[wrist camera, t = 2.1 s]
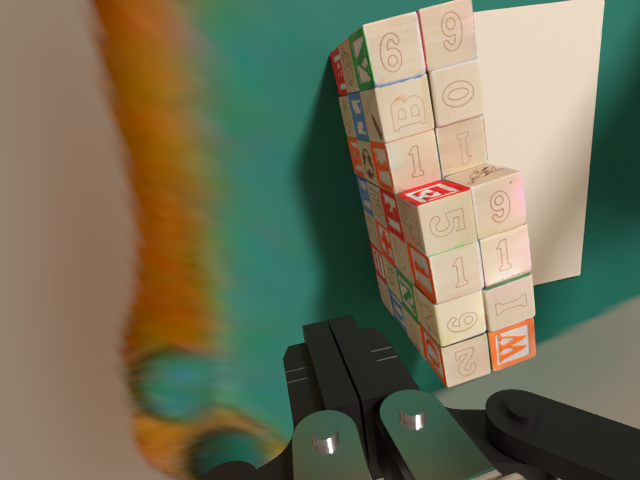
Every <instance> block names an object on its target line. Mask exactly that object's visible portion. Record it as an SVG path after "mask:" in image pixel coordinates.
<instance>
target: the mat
mask: <svg viewBox="0 0 640 480" xmlns="http://www.w3.org/2000/svg"><path fill="white" fill-rule="evenodd" d="M603 11H604V0H572V1H564V2H555V3H547V4H539V5H530V6H522V7H514V8H505V9H497V10H489V11H480V12H473V18H474V28H475V38H476V48H477V58H479V63H480V73H481V83H482V93H483V103H484V114H483V118H484V126H485V136H486V145H487V155H488V164H492V165H496V166H501V167H506V168H510V169H514V170H521V171H522V173H523V184H524V194H525V205H526V216H527V221H526V225H527V226H528V231H529V243H530V254H531V265H532V268H531V270H530V274H531V275H532V280H533V286H534V285H538V284H542V283H547V282H551V281H556V280H560V279H565V278H569V277H573V276H578V275H580V270H581V259H582V248H583V237H584V225H585V214H586V203H587V192H588V180H589V169H590V158H591V147H592V135H593V124H594V113H595V102H596V90H597V79H598V68H599V56H600V45H601V34H602V23H603Z"/></svg>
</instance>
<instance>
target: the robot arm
mask: <svg viewBox="0 0 640 480" xmlns="http://www.w3.org/2000/svg"><path fill="white" fill-rule="evenodd" d="M302 328H303V334H304V340H305V343H301V344H297V345H293V346H288V349H287V351H286V353H285V355H284V358H283V361H284V368H285V374H286V380H287V387H288V393H289V399H290V405H291V412H292V418H293V425H294V430H293V435H292V438H291V440H290V442H289V444H288V446H287V447H286V448H285V450H284V451H283V452H282V453H281V454H280V455H278V456H277V457H276V458H275V459H273V460H272V461H270V462H268V463H267V464H265V465H263V466H262V467H260V468H258V469H256V468H255V467H254V466H253V465H251V464H249V463H247V462H243V461H230V462H226V463H223V464H220V465H218V466H216V467H214V468H212V469H211V470H209V471H208V472H207V473H205V474H204V475H203V476H202V477H201V478H200V479H199V480H370V476H371V478H372V480H376V479H379V478H384V480H558V478H560V479H562V480H640V429H637V428H634V427H631V426H628V425H625V424H622V423H619V422H616V421H613V420H610V419H607V418H604V417H601V416H599V415H596V414H592V413H590V412H587V411H584V410H581V409H578V408H575V407H572V406H569V405H566V404H563V403H560V402H557V401H554V400H552V399H549V398H546V397H543V396H539V395H536V394H534V393H531V392H527V391H523V390H514V389H513V390H512V389H509V390H502V391H499V392H496V393H494V394H493V395H491V396H490V397H489V399H488V400H487V402H486V410H459V409H451V408H447V407H444V406H443V404H442V403H441V402H440V401H439V400H438V399H437V398H436V397H434V396H433V395H431V394H429V393H426V392H424V391H421V390H420V389H419V387H418V386H417V384H416V383H415V381H414V380H413V378H412V376H411V375H410V373H409V372H408V370H407V369H406V367H405V366H404V364H403V363H402V361H401V360H400V358H399V357H398V356H397V353H396V352H395V350H394V349H393V348H392V347H391V344H390V343H389V341H388V340H387V338H386V337H385V335H384V334H382V333H380V332H379V331H377V330H375V329H374V328H372V327H370V328H366V329H362V330H359V328H358V326H357V325H356V323H355V321H354V319H353V317H352V316H351V315H348V316H344V317H339V318H335V319H330V320H327V322H326V321H322V322H317V323H313V324H308V325H304V326H302ZM368 470H369V472H368ZM369 473H370V476H369Z"/></svg>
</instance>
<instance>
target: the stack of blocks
mask: <svg viewBox="0 0 640 480" xmlns="http://www.w3.org/2000/svg"><path fill="white" fill-rule="evenodd" d="M330 58H331V62H332V67H333V71H334V75H335V80H336V84H337V88H338V93H339V95H340V97H339V103H340V108H341V112H342V117H343V121H344V126H345V131H346V134H347V140H348V145H349V150H350V154H351V159H352V164H353V169H354V172H355V174H356V178H357V183H358V187H359V192H360V197H361V201H362V206H363V208H364V214H365V219H366V224H367V228H368V233H369V237H370V246H371V251H372V255H373V260H374V265H375V269H376V276H377V280H378V285H379V290H380V295H381V299H382V302H383V303H384V305H385V306H386V307H387V308H388V310H389V311H390V313H391V314H392V315H393V316H394V317H395V318H396V320H397V321H398V322H399V324H400V325H401V326H402V327H403V329H404V330H405V332H406V333H407V334H408V336H409V338H410V339H411V341H412V342H413V344H414V345H415V346H416V348H417V349H418V350H419V352H420V353H421V354H422V356H423V357H424V358H425V359H426V360H427V361H428V362H429V364H430V365H431V367H432V368H433V369H434V371H435V372H436V373H437V375H438V376H439V377H440V379H441V380H442V382H443V383H444V384H445V385H446V386H447V387H452V386H455V385H458V384H461V383H463V382H466V381H469V380H472V379H475V378H478V377H481V376H484V375H488V374H490V373H491V370H492V371H497V370H501V369H503V368H506V367H508V366H511V365H514V364H516V363H519V362H522V361H524V360H527V359H529V358H532V357H534V356H536V346H535V330H534V318H533V317H534V316H535V302H534V290H533V280H532V275H531V274H530V270H531V268H532V265H531V254H530V243H529V231H528V226H527V225H526V221H527V216H526V205H525V194H524V184H523V173H522V171H521V170H514V169H510V168H506V167H501V166H496V165H492V164H488V155H487V145H486V136H485V126H484V118H483V114H484V103H483V93H482V83H481V73H480V63H479V58H477V48H476V38H475V28H474V18H473V8H472V0H454V1H450V2H447V3H443V4H439V5H435V6H431V7H427V8H423V9H420V10H418V11H416V12H412V13H407V14H403V15H399V16H395V17H392V18H388V19H384V20H380V21H377V22H372V23H368V24H365V25H362V26H361V27H359V28H358V29H357V30H356V31H355V32H354V33H352V34H351V35H350V36H349V37H348V39H347V40H345V41H344V42H343V43H341V44H340V45H339V46H338V47H337V48H336V49H334V50H333V51H332V52H331V53H330Z"/></svg>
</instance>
